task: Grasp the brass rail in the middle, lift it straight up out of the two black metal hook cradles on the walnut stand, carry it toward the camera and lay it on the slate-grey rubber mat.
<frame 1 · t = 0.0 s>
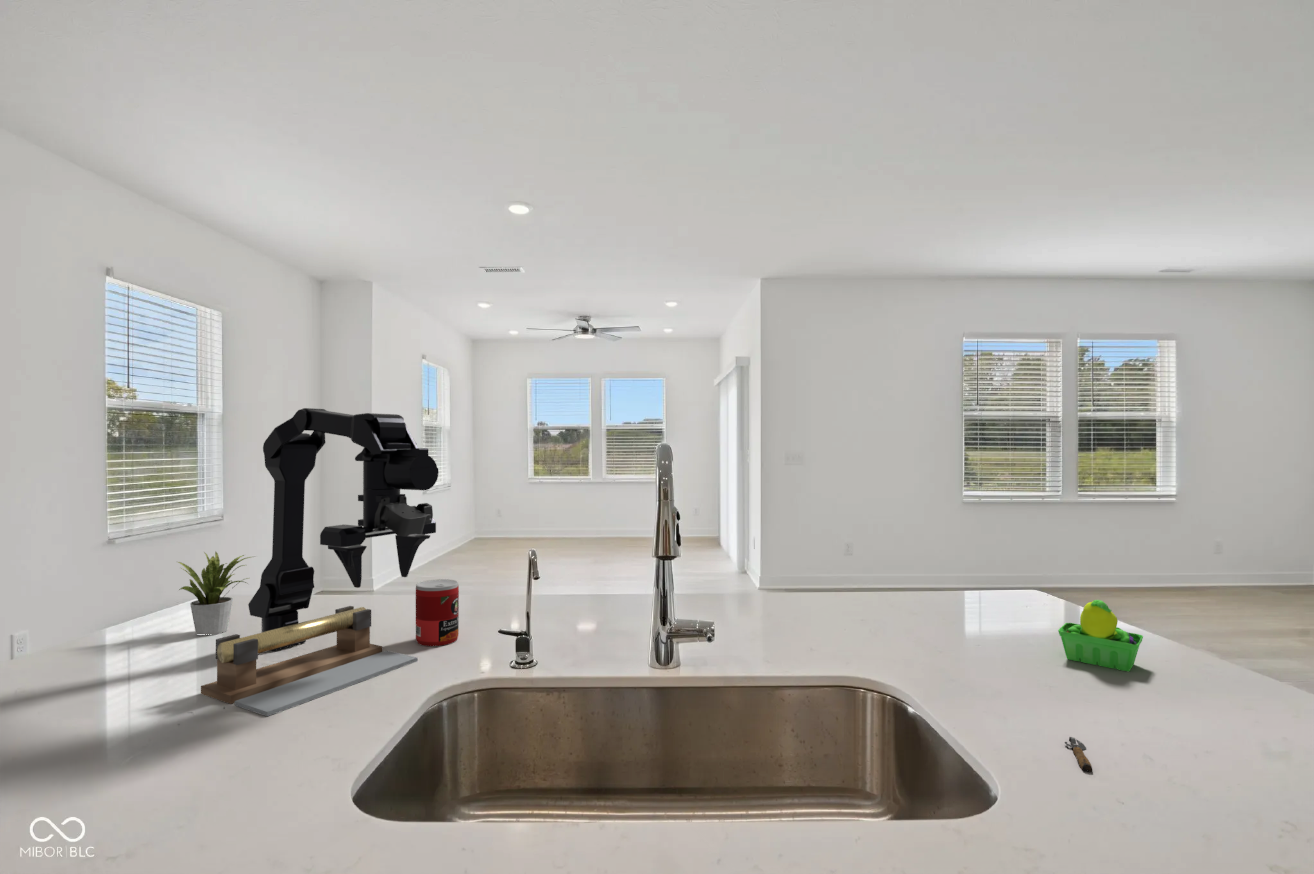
hand: (381, 581, 109), 15 cm above the countertop, fingers open, 9 cm apart
canned food: (437, 641, 125), on the countertop
mat: (334, 681, 104), on the countertop
fruit basket: (1099, 664, 112), on the countertop
rail: (299, 641, 108), point 5 cm above the countertop, touching stand
house plant: (217, 633, 130), on the countertop
can opener: (1081, 759, 79), on the countertop
stand: (299, 671, 108), on the countertop
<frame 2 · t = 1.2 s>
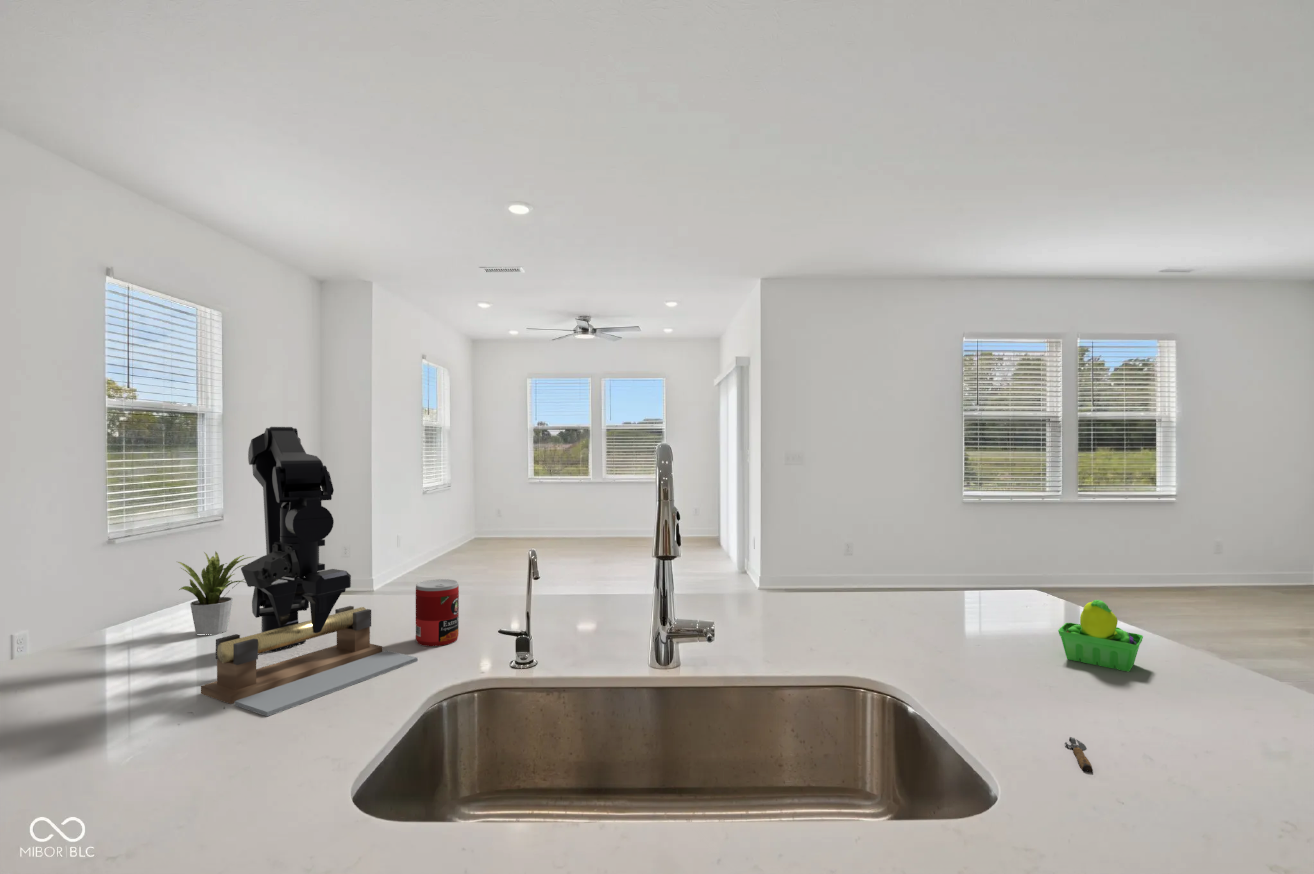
hand: (299, 628, 108), 7 cm above the countertop, fingers open, 9 cm apart
nothing on the countertop moved.
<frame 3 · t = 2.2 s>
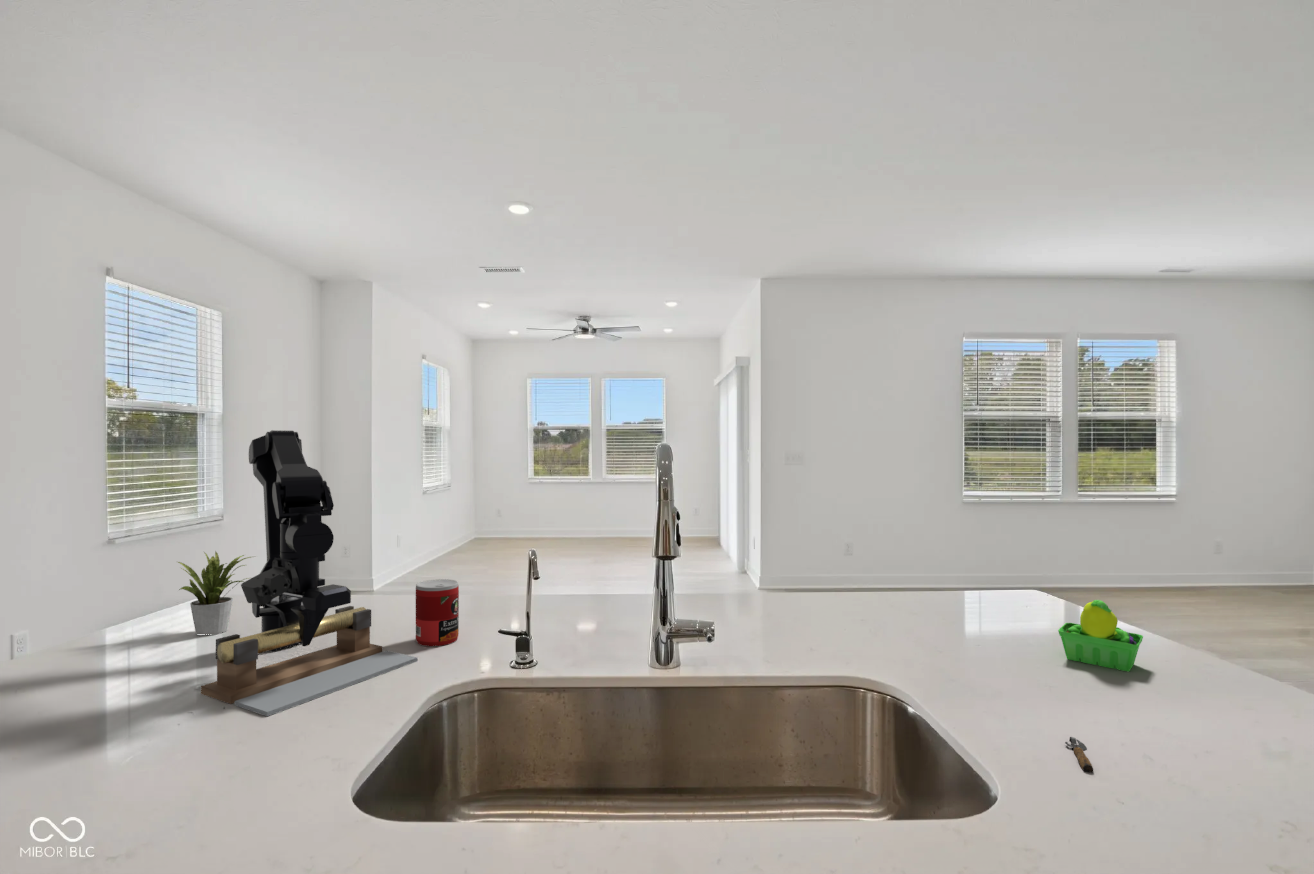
hand: (299, 644, 108), 5 cm above the countertop, fingers closed on rail, 3 cm apart
rail: (299, 641, 108), point 5 cm above the countertop, touching gripper, stand
everything else where it was.
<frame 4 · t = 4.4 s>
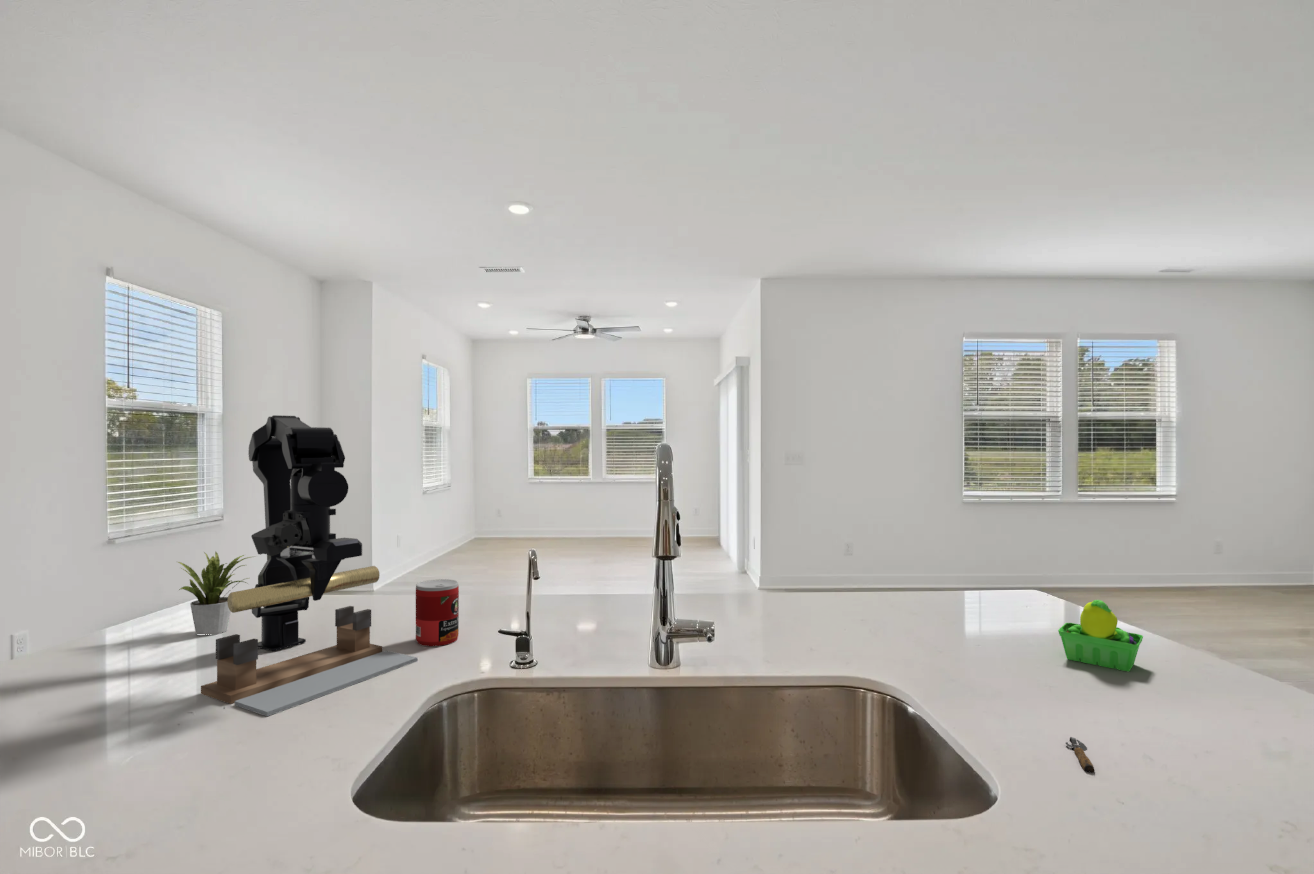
hand: (310, 599, 106), 12 cm above the countertop, fingers closed on rail, 3 cm apart
rail: (310, 596, 106), point 13 cm above the countertop, touching gripper
everything else where it was.
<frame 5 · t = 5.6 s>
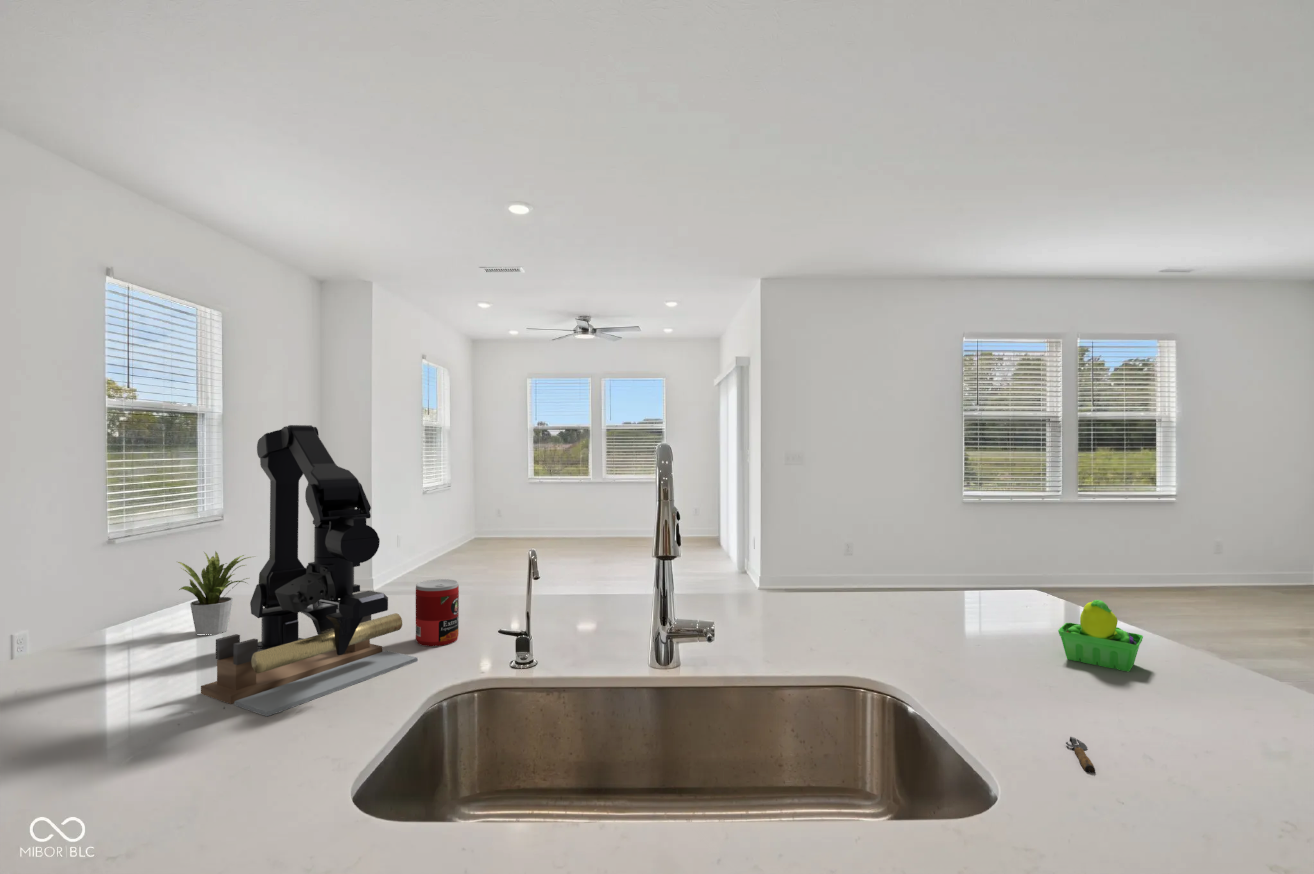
hand: (334, 652, 104), 4 cm above the countertop, fingers closed on rail, 3 cm apart
rail: (334, 649, 104), point 5 cm above the countertop, touching gripper
everything else where it was.
when the fingers open (1 cm above the countertop, at t = 6.4 s): rail drops 1 cm, resting on mat.
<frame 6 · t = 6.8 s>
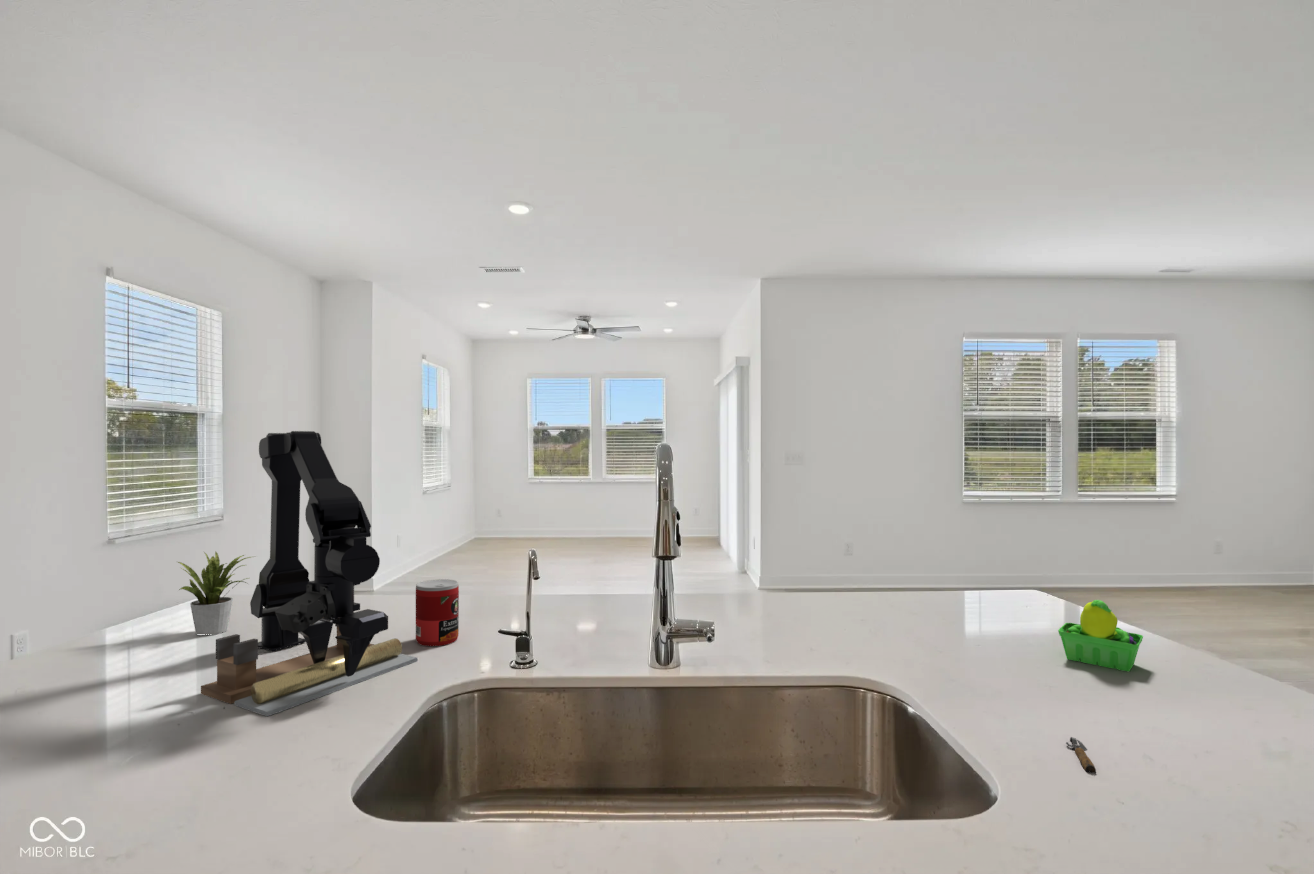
hand: (334, 671, 104), 1 cm above the countertop, fingers open, 7 cm apart
rail: (334, 677, 104), point 1 cm above the countertop, tilted 6°, touching mat
everything else where it was.
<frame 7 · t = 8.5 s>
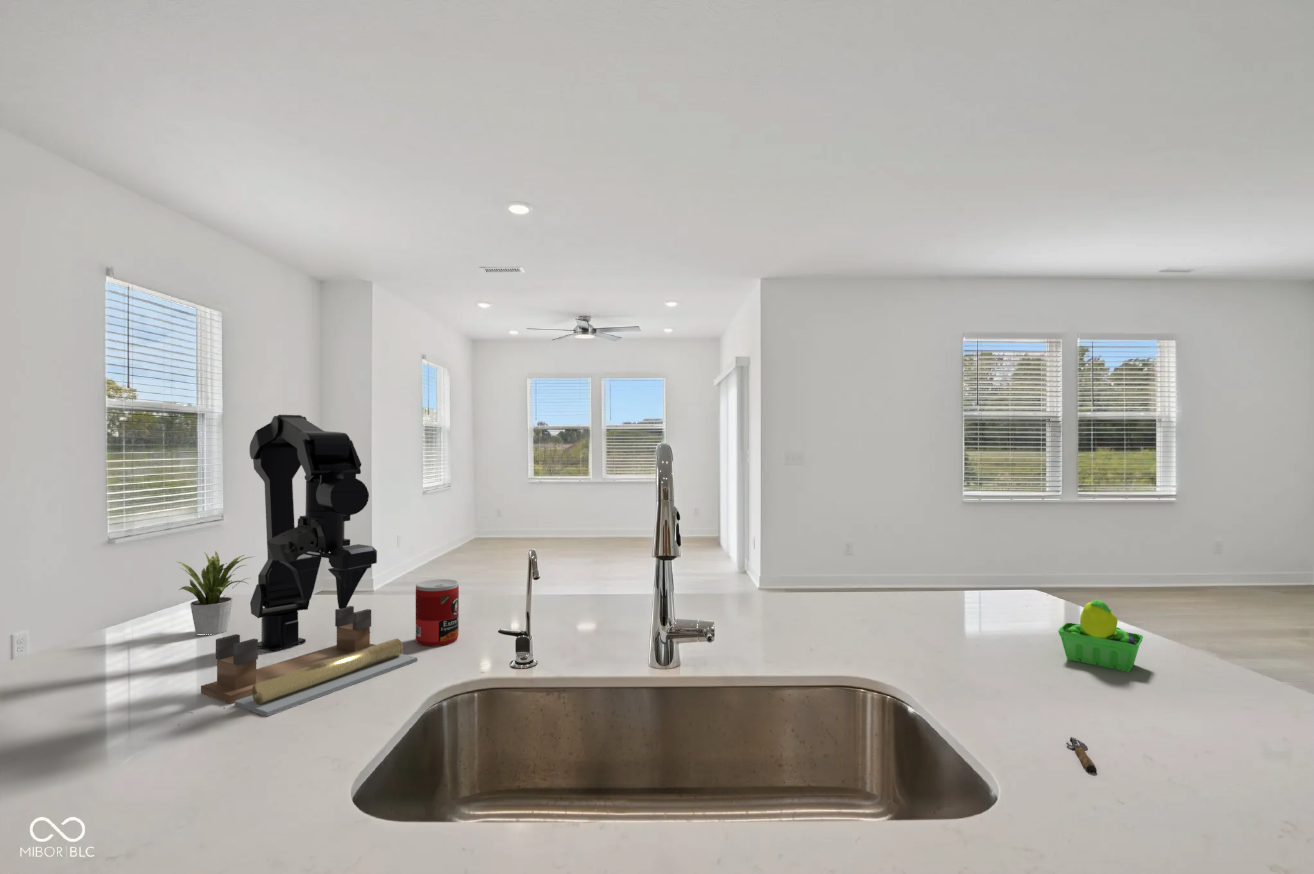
hand: (324, 604, 107), 11 cm above the countertop, fingers open, 9 cm apart
nothing on the countertop moved.
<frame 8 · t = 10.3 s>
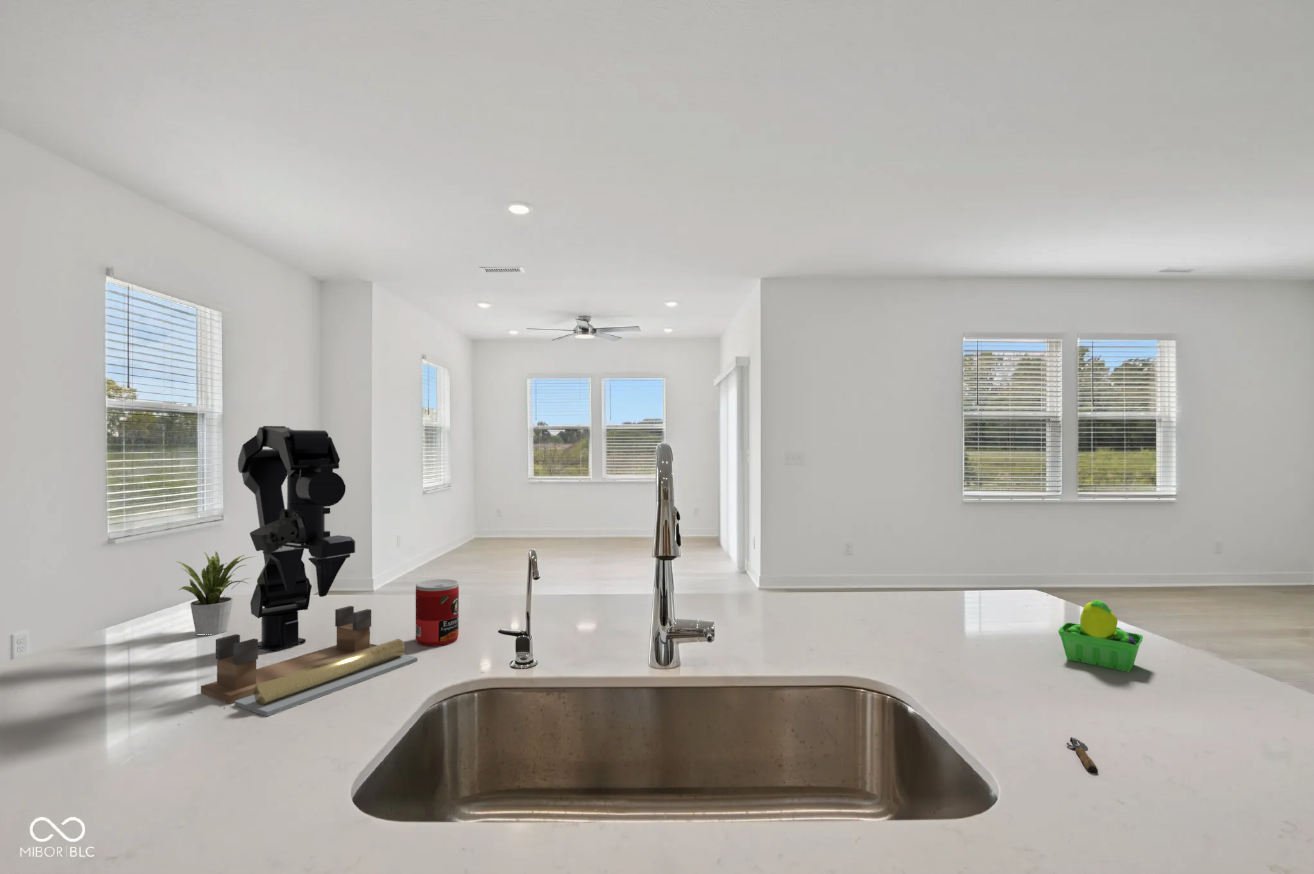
hand: (305, 593, 112), 12 cm above the countertop, fingers open, 9 cm apart
rail: (334, 676, 104), point 1 cm above the countertop, tilted 23°, touching mat
everything else where it was.
at the end: rail inside the target area on the mat (0.0 cm from its centre), point 0.7 cm above the mat's base; rail touching mat; the gripper is holding nothing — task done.
